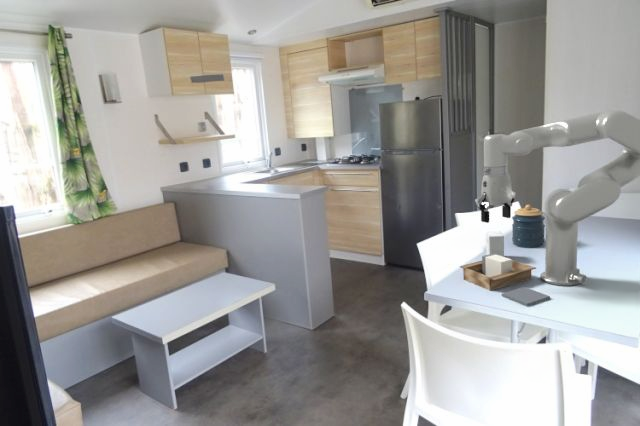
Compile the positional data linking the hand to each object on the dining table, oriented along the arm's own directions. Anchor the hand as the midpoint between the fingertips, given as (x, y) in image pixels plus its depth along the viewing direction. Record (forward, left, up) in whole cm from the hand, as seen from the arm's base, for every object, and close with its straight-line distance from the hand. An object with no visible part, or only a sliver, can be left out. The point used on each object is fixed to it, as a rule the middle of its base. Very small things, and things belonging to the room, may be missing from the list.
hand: (495, 219), depth 157 cm
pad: (-17, +5, -22) cm, 28 cm away
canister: (+23, -41, -22) cm, 52 cm away
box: (0, 0, -22) cm, 22 cm away
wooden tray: (0, 0, -22) cm, 22 cm away
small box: (+17, -16, -22) cm, 32 cm away
